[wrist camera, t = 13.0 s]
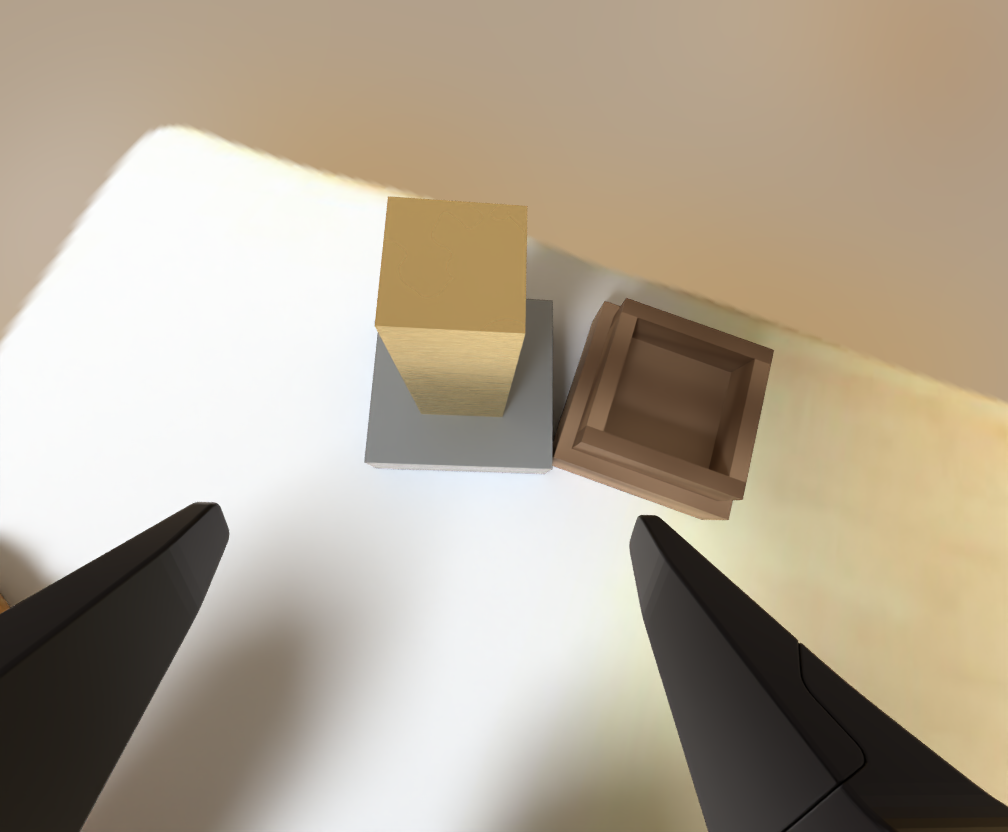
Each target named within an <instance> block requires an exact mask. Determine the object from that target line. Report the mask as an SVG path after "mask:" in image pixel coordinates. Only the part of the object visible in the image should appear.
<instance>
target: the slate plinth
mask: <svg viewBox="0 0 1008 832" xmlns="http://www.w3.org/2000/svg"><path fill="white" fill-rule="evenodd" d="M552 372H553V301H552V300H534V299H526V322H525V337H524V340H523V344H522V348H521V351H520V355H519V359H518V362H517V366H516V370H515V373H514V377H513V380H512V384H511V388H510V391H509V395H508V399H507V402H506V406H505V410H504V413H503V417H484V416H459V415H434V414H421V413H420V411H419V409H418V407H417V405H416V403H415V401H414V399H413V398H412V396H411V394H410V392H409V390H408V388H407V386H406V384H405V382H404V380H403V379H402V377H401V375H400V373H399V371H398V369H397V367H396V365H395V363H394V361H393V360H392V358H391V356H390V354H389V352H388V350H387V348H386V346H385V344H384V342H383V341H382V339H381V337H380V335H379V333H378V335H377V344H376V354H375V364H374V374H373V383H372V393H371V403H370V413H369V422H368V432H367V442H366V452H365V462H364V463H366V464H368V465H371V466H373V467H375V468H383V469H412V470H442V471H471V472H501V473H530V474H545V473H547V472H548V471H550V470H552Z"/></svg>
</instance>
